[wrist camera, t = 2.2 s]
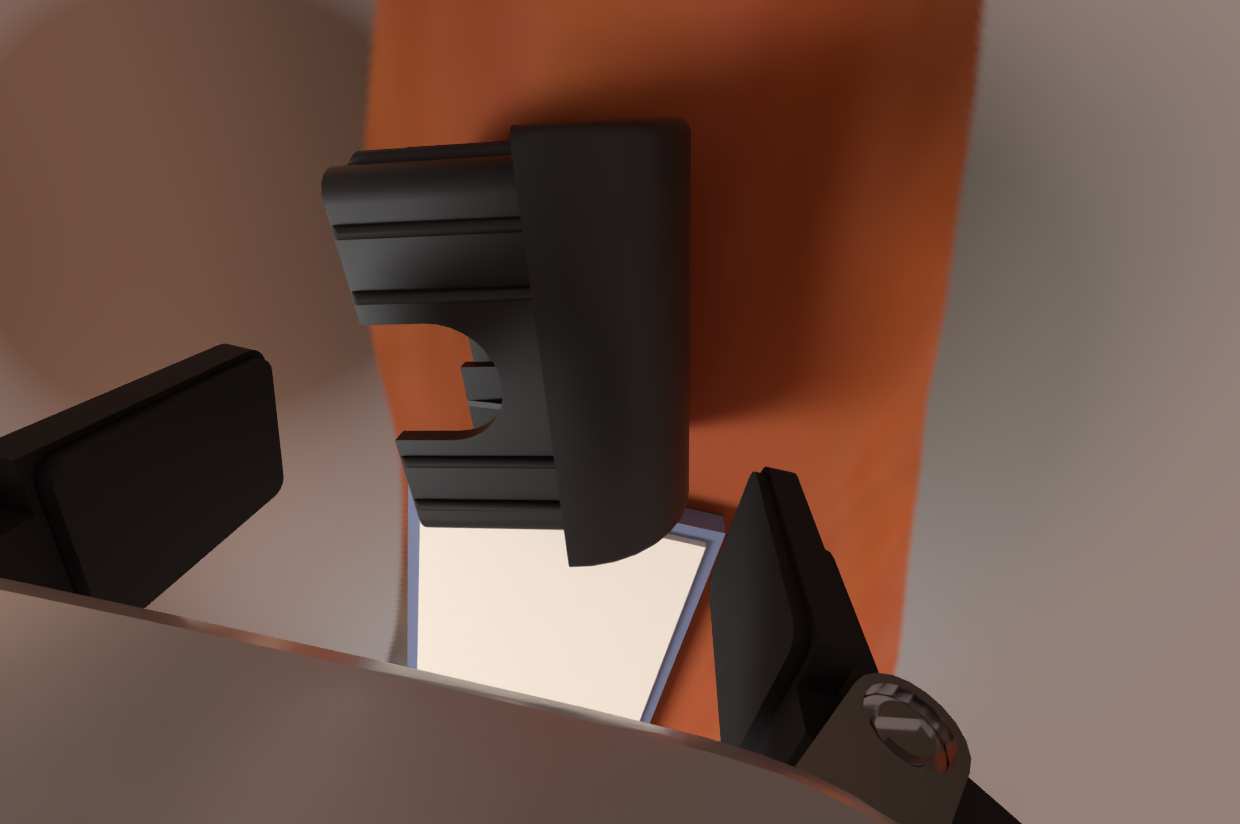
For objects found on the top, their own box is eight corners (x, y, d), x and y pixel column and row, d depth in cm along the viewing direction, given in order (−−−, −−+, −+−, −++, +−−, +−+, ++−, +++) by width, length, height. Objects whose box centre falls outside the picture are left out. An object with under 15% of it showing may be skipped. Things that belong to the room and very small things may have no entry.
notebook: (419, 448, 20) (404, 467, 19) (723, 516, 20) (726, 539, 19) (415, 694, 28) (404, 718, 27) (635, 741, 28) (634, 767, 27)
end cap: (686, 435, 19) (690, 576, 13) (495, 435, 20) (418, 568, 14) (687, 118, 14) (695, 112, 8) (437, 135, 15) (281, 140, 9)
